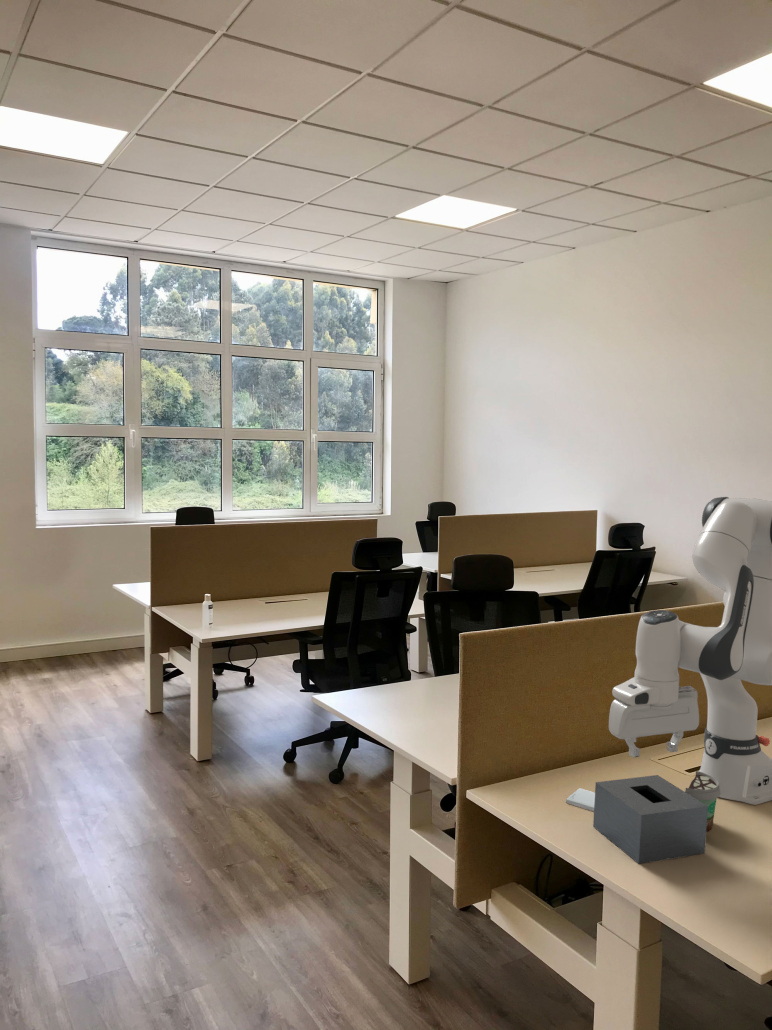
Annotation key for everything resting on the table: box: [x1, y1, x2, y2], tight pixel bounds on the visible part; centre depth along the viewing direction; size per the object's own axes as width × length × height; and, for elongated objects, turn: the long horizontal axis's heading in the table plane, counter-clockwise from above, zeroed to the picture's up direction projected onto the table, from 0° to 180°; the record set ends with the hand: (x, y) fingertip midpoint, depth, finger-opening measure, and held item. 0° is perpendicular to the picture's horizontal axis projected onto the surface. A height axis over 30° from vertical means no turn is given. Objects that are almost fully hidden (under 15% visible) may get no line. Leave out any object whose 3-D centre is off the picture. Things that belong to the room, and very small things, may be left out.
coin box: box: [592, 774, 708, 865], centre depth 166 cm, size 16×16×10 cm
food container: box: [684, 770, 721, 833], centre depth 173 cm, size 12×6×10 cm, turn 148°
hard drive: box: [565, 787, 595, 812], centre depth 183 cm, size 2×8×12 cm
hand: (653, 753), depth 165 cm, fingers open, 8 cm apart
